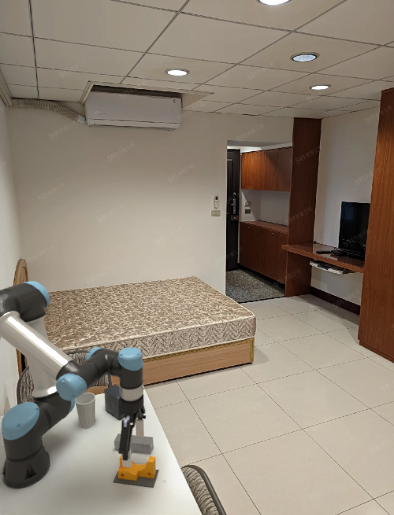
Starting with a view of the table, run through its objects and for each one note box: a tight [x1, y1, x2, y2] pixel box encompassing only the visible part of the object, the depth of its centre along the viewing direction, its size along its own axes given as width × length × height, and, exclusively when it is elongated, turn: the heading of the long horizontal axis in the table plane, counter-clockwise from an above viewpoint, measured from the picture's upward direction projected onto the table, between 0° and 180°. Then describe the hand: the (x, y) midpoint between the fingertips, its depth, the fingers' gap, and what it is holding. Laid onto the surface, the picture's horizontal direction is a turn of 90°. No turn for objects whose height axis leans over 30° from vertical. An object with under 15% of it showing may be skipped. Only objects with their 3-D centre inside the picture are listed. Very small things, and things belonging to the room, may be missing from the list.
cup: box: [75, 392, 96, 430], centre depth 146 cm, size 8×8×12 cm
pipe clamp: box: [117, 454, 157, 481], centre depth 120 cm, size 12×4×6 cm, turn 81°
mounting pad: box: [112, 469, 160, 489], centre depth 121 cm, size 14×7×1 cm, turn 81°
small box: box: [103, 384, 125, 421], centre depth 153 cm, size 11×6×10 cm, turn 49°
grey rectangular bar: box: [113, 433, 154, 455], centre depth 133 cm, size 14×4×4 cm, turn 81°
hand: (133, 450), depth 119 cm, fingers open, 13 cm apart
